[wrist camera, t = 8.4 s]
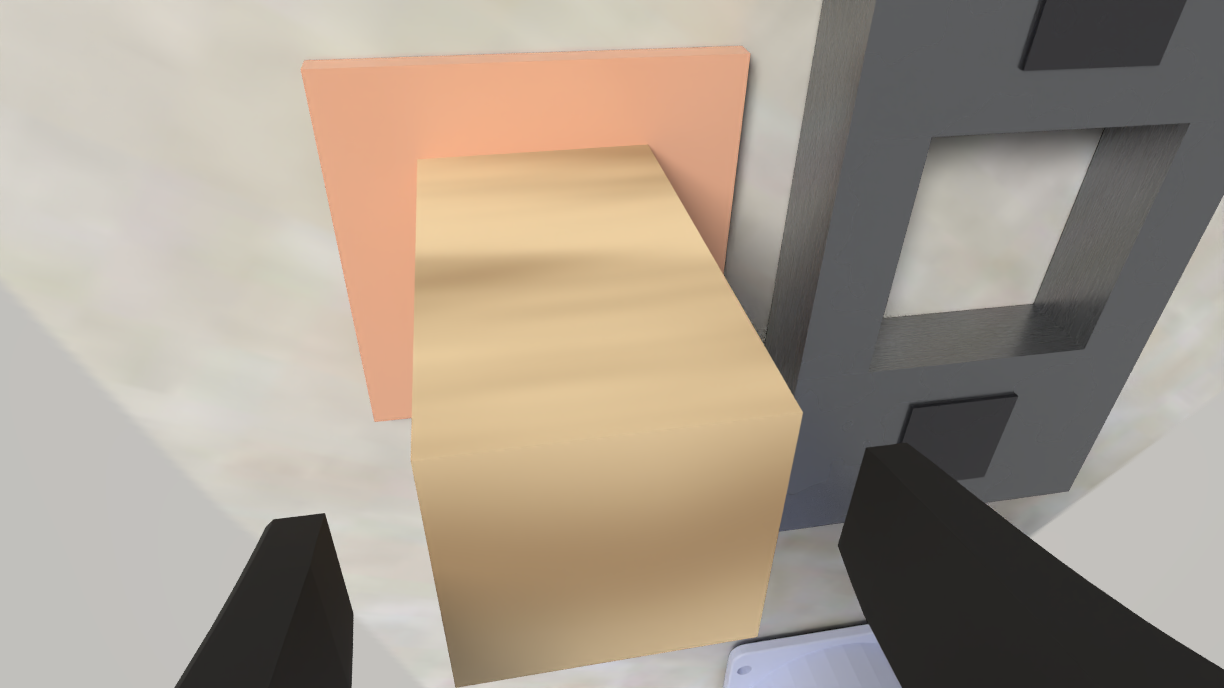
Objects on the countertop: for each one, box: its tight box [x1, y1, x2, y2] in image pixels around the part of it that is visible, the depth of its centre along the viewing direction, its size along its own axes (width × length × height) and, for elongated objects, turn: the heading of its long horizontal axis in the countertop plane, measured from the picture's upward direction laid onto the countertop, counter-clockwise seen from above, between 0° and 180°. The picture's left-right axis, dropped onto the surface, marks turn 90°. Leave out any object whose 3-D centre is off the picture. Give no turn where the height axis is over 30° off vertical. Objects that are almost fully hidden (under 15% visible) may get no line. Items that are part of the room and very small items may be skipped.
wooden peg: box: [411, 144, 803, 688], centre depth 13 cm, size 4×4×8 cm
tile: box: [301, 46, 750, 422], centre depth 17 cm, size 8×8×1 cm
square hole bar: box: [765, 0, 1224, 532], centre depth 18 cm, size 16×9×2 cm, turn 179°
